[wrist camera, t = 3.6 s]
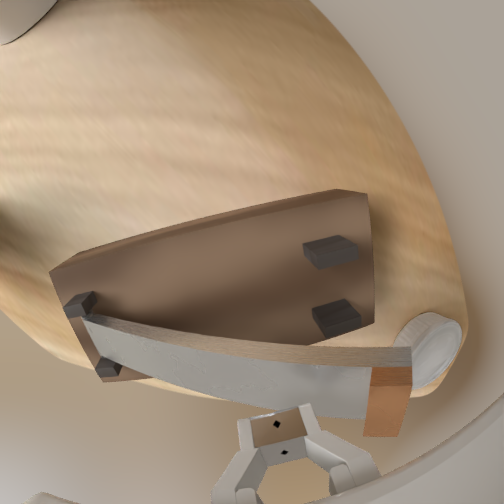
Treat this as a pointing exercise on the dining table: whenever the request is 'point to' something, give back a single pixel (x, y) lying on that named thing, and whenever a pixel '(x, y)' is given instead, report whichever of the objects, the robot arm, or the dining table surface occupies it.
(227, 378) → the clamp bar
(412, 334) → the ramekin
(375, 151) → the dining table surface
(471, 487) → the robot arm
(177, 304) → the base
